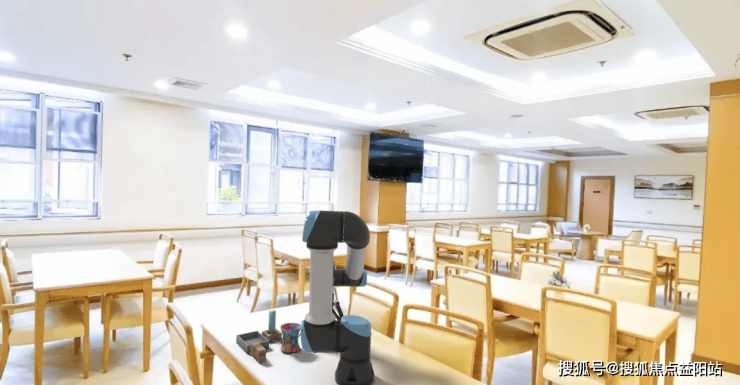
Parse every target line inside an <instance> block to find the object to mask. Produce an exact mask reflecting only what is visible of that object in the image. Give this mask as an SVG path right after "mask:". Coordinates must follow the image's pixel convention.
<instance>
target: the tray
mask: <svg viewBox="0 0 740 385" xmlns="http://www.w3.org/2000/svg"><path fill="white" fill-rule="evenodd" d="M235 338H236V341H235V343H236V344H237V345H238V347H240V348H241V349H242V351H243V352H244V353H245V354H246V355H248V354H249V355H250V343H252V342H256V341H257V342H258V343H260V344H261V345H262V346H263V347H264V348H265V349H266V350H268V349H270V342H269V340H268V339H267V338H265V337H264V336H263V335H262V332H259V330H254V331H250V332H245V333H240V334H236V337H235Z"/></svg>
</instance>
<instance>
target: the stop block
mask: <svg viewBox="0 0 740 385" xmlns="http://www.w3.org/2000/svg"><path fill="white" fill-rule="evenodd" d="M249 355H250V356H251V357H252V358H253V359H254V360H255V361H256V362H257V363H258V364H261V363H265V362H266V361H267V360H266V359H267V349H265V348H264V347H263V346H262V345H261V344H260V343H258V342H257V341H256V342H252V343H250V353H249Z"/></svg>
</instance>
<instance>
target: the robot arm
mask: <svg viewBox="0 0 740 385" xmlns="http://www.w3.org/2000/svg"><path fill="white" fill-rule="evenodd" d="M301 238H302V239H301V241H302V242H304V243H306V244H305V245H306V248H307V249H308V250H309V252H310V256H309V257H310V258H309V259H310V260H309V261H310V262H309V292H308V294H309V297H308V298H309V299H308V312H307V313H306V314H305V316H304V319H303V320H301V322H300V325H301V327H300V332H301V333H300V332H299V334H300V343H301V348H302V350H303V351H304V352H305V353H313V354H320V353H321V354H322V353H323V354H339V360H338V364H337V367H336V369H335V372H334V381H335V383H336V385H372V384H373V383H374V381H375V371H374V367H373V364H372V359H371V351H372V350H371V347H372V346H371V344H372V343H371V342H372V324H371V322H370V320H368V319H367V318H365V317H363V316H360V315H355V314H347V315H344V312H343V310H342V308H341V306H340V305H341V304H340V301H338V300H336V299H335V287H347V288H349V287H351V288H359V287H360V288H361V287H366V286H367V284H368V283H367V282H368V271H367V269H365V260H366V250H367V247H368V245H369V243H370V239H371V233H370V229H369V226H368V224H366V222H365V220H364V219H363V218H362V217H360V216H359V215H358V214H356V213H354V212H351V211H347V210H346V211H339V210H321V209H319V210H310V211H308V212H307V213H306V216H305V220H304V224H303V230H302V237H301ZM340 243H341V244H343V243H345V245H346V262H345V263H346V264H345V266H346V268H345V269H343V268H342V269H341V268H339V269H337V268H336V261H335V260H334V254H335V253H334V252H335V251H336V250H337V249H338V247H339V244H340ZM334 307H335V308H334ZM335 309H336V311H337V312H336V311H335Z"/></svg>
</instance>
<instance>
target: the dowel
mask: <svg viewBox="0 0 740 385" xmlns="http://www.w3.org/2000/svg"><path fill="white" fill-rule="evenodd" d="M276 314H277V310H269V311H268V329H267V330H268V334H274V333H275V328H276V323H277V320H276V317H277V315H276Z"/></svg>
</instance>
